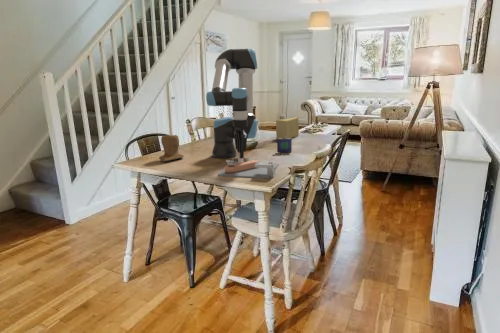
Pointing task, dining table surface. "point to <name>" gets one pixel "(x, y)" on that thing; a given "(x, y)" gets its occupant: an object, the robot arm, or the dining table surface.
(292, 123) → the cheese
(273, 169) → the block
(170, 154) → the brown boot
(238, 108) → the robot arm
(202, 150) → the dining table surface
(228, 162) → the silver metal knob
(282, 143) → the dark blue box
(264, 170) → the base board
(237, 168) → the link
